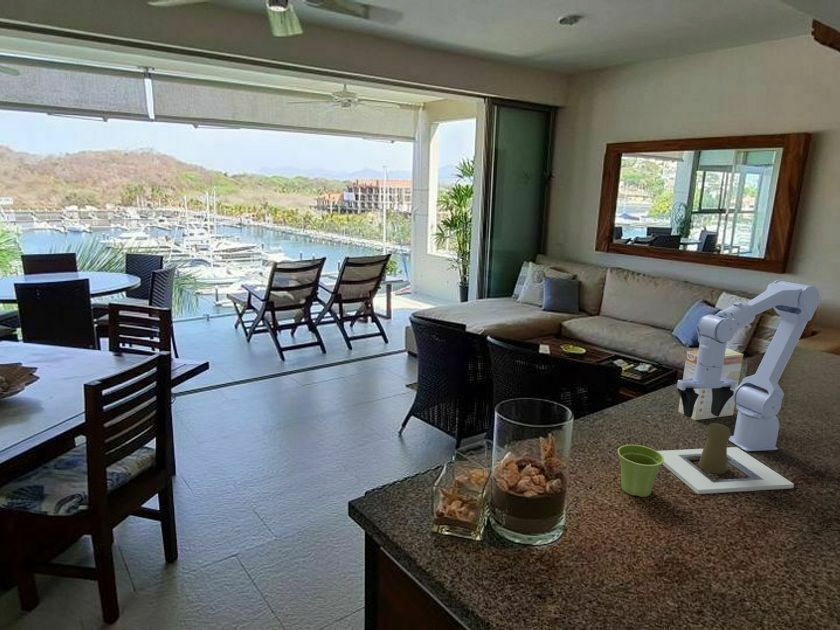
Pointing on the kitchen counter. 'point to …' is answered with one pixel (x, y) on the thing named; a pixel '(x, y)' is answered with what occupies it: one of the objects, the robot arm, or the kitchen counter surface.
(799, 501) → the kitchen counter surface
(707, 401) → the coffeecake box
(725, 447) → the cork
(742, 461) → the white picture frame
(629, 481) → the plant pot
